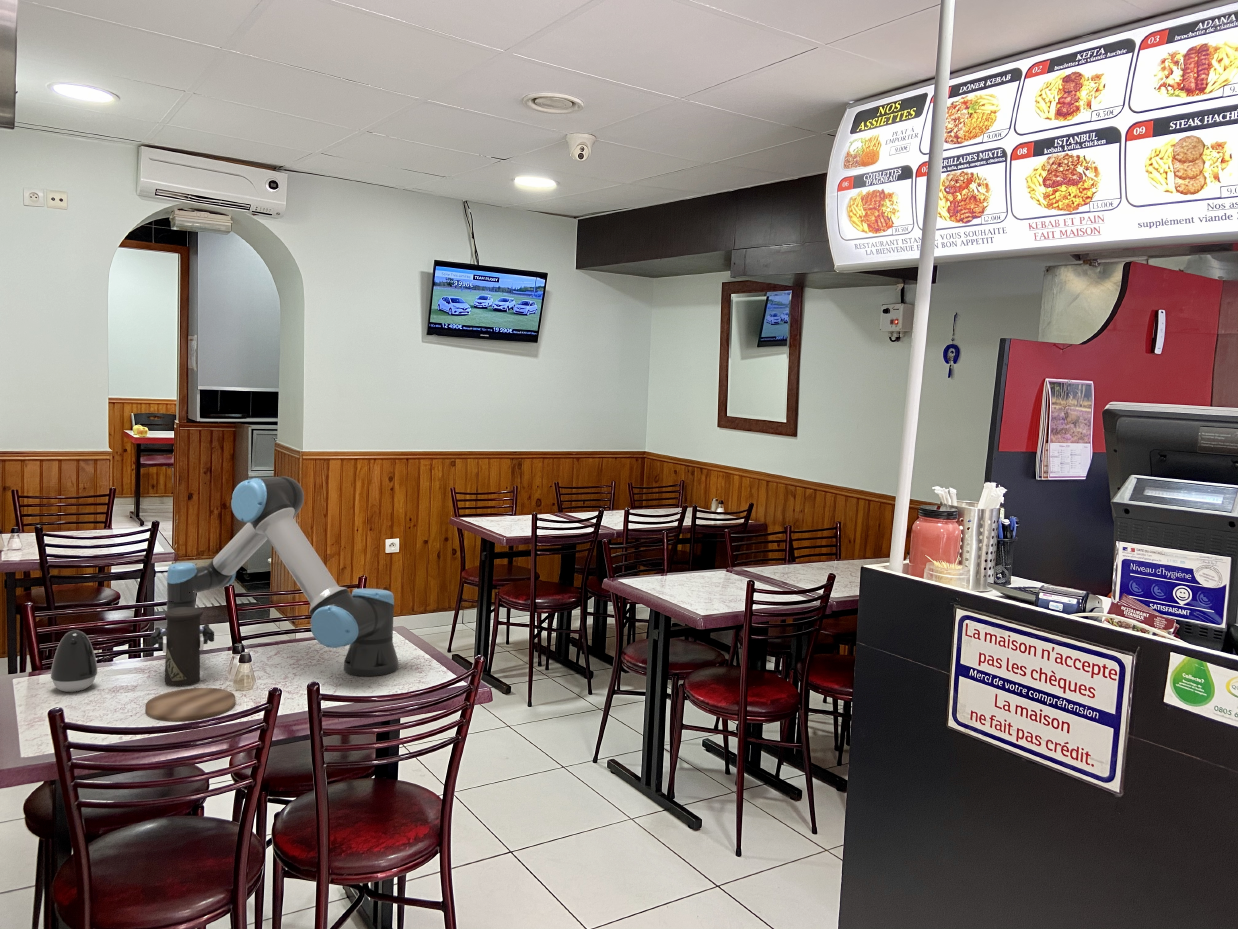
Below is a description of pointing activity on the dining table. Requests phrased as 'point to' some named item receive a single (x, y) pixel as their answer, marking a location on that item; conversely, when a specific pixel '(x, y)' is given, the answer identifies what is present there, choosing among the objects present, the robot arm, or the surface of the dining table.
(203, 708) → the round wooden board
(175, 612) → the container
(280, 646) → the dining table surface
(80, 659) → the black egg shaped device
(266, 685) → the dining table surface
